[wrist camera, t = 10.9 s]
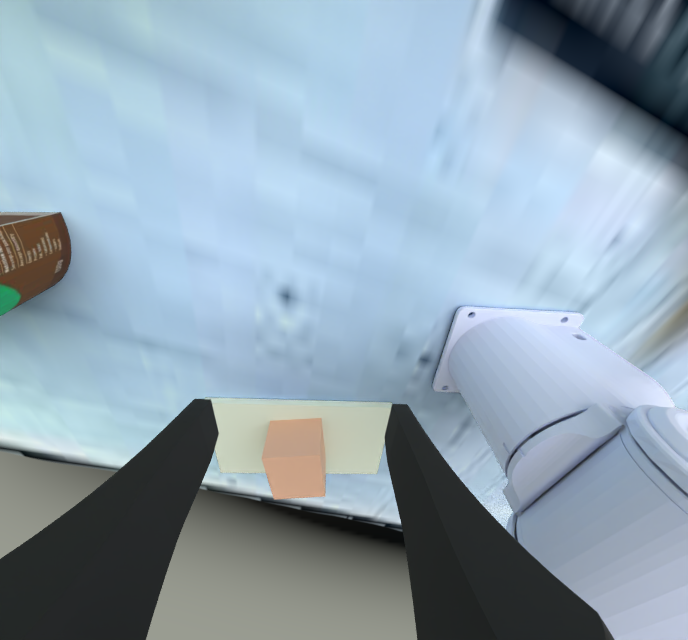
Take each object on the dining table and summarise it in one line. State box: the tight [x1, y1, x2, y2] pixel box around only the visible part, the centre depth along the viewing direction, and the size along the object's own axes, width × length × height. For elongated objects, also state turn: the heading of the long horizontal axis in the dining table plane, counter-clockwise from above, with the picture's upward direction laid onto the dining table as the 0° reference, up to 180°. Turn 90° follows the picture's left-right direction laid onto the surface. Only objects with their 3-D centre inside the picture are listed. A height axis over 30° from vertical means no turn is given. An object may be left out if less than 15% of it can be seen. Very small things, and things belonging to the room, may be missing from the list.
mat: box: [205, 397, 392, 474], centre depth 26 cm, size 16×10×1 cm, turn 85°
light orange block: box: [261, 418, 326, 499], centre depth 24 cm, size 6×4×4 cm
